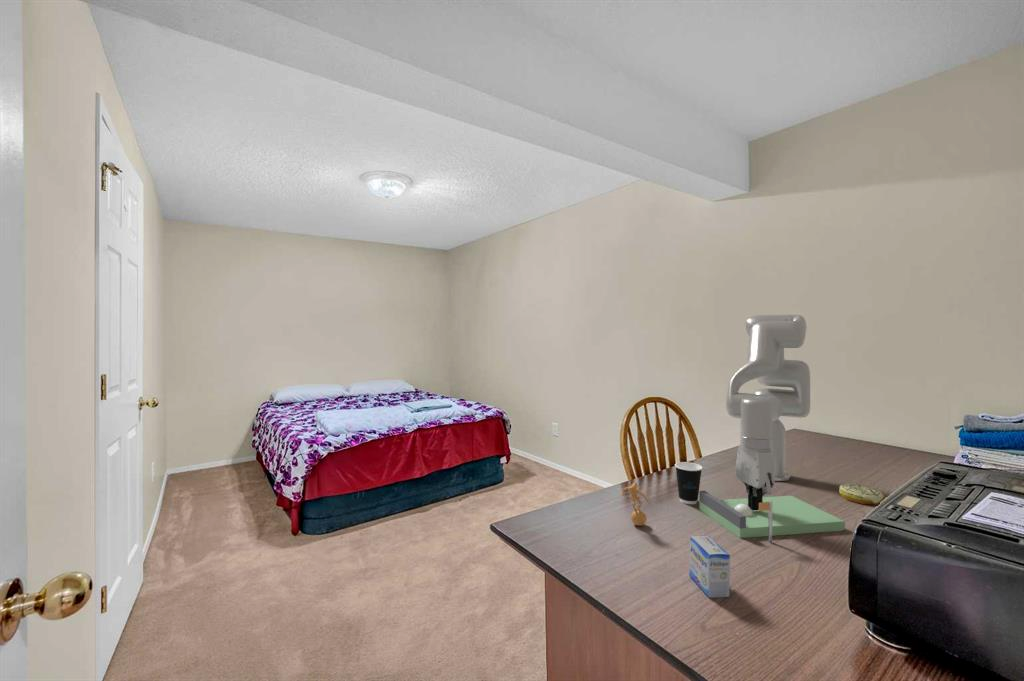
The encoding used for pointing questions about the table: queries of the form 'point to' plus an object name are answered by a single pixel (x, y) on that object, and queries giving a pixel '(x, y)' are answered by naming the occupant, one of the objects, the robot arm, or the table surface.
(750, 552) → the table surface
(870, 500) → the decorated donut
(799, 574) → the table surface
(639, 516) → the figurine
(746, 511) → the ball
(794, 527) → the mat
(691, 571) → the medicine box
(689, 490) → the dixie cup
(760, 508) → the flag pin
